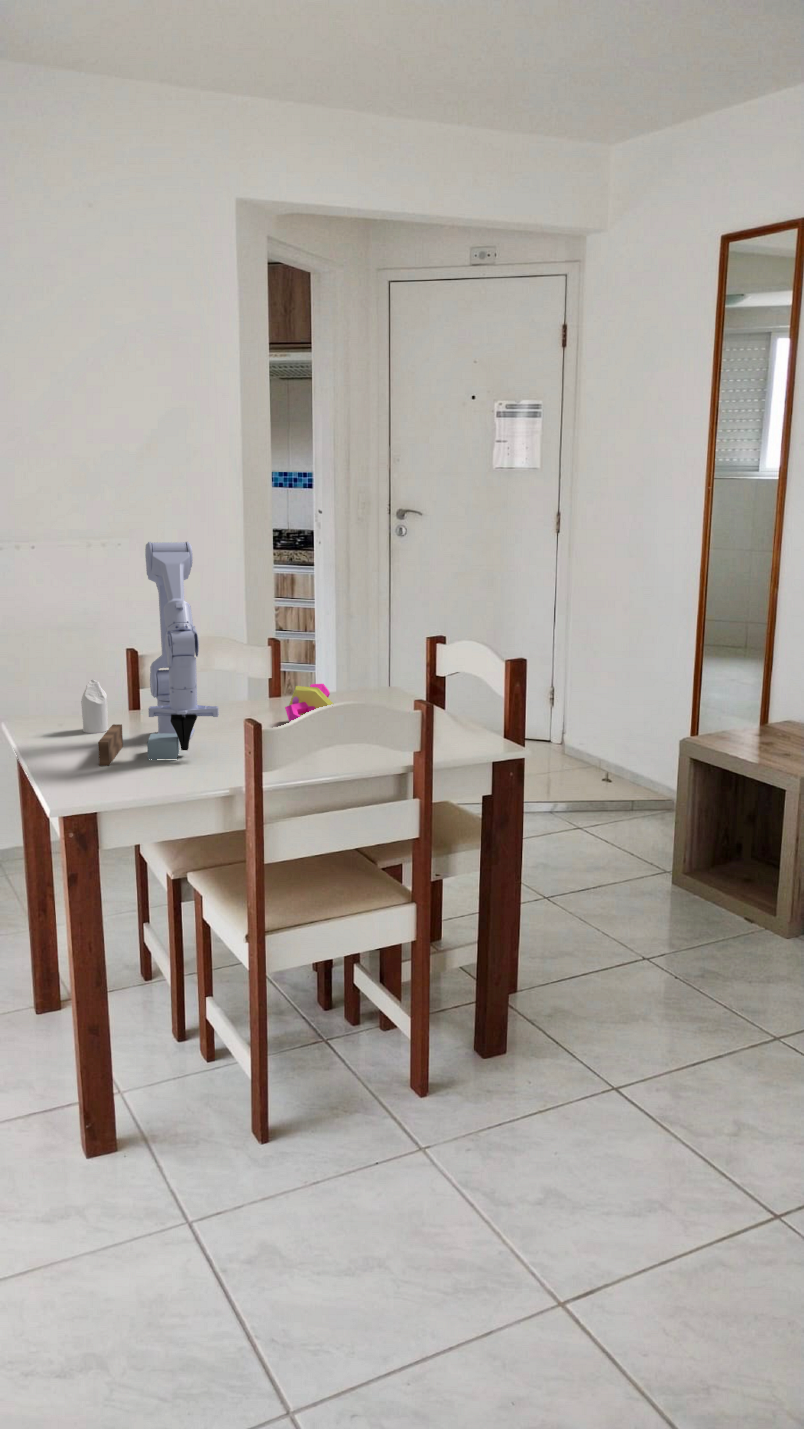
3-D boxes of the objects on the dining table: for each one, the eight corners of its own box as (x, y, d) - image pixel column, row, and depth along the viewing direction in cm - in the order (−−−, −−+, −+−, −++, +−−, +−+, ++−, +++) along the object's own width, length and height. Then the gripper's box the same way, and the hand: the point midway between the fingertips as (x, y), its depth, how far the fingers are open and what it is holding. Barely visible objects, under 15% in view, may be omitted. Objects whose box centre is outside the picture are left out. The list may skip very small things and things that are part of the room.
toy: (272, 731, 268) (284, 697, 263) (298, 695, 283) (310, 663, 278) (310, 749, 268) (323, 715, 262) (334, 712, 283) (346, 680, 277)
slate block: (151, 751, 244) (150, 733, 243) (179, 751, 245) (179, 733, 244) (147, 761, 236) (147, 742, 236) (176, 760, 237) (176, 742, 236)
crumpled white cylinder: (89, 683, 256) (74, 680, 259) (91, 734, 258) (77, 730, 262) (111, 679, 260) (97, 676, 264) (113, 730, 263) (99, 726, 266)
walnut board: (113, 746, 248) (112, 724, 247) (122, 746, 248) (121, 724, 247) (99, 765, 232) (98, 742, 231) (109, 765, 232) (108, 742, 231)
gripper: (145, 690, 233) (147, 754, 236) (216, 690, 234) (217, 753, 237) (150, 684, 240) (152, 745, 243) (219, 684, 241) (220, 745, 244)
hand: (184, 749), depth 241 cm, fingers closed
